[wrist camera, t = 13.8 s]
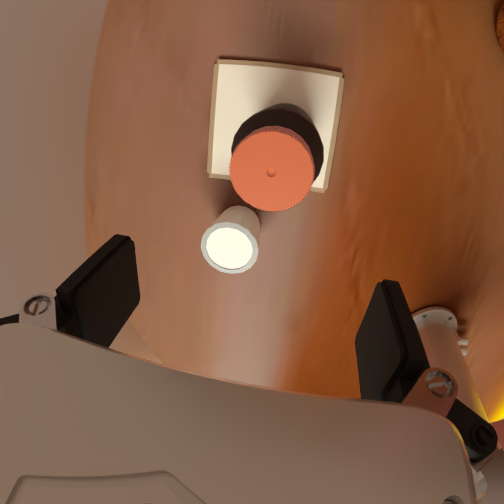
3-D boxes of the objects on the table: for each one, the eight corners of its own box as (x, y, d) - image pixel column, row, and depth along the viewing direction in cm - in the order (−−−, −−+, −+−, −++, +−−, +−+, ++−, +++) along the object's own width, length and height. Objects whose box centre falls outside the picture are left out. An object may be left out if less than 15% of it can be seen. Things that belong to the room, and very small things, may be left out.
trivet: (344, 73, 30) (345, 73, 30) (325, 191, 38) (326, 193, 37) (216, 59, 31) (214, 59, 31) (208, 175, 39) (206, 177, 38)
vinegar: (296, 93, 32) (295, 91, 15) (324, 143, 34) (350, 198, 17) (245, 119, 34) (190, 150, 17) (274, 167, 37) (250, 244, 19)
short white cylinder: (216, 245, 44) (203, 272, 38) (213, 200, 41) (197, 221, 35) (264, 248, 43) (258, 275, 37) (264, 201, 40) (257, 223, 34)
